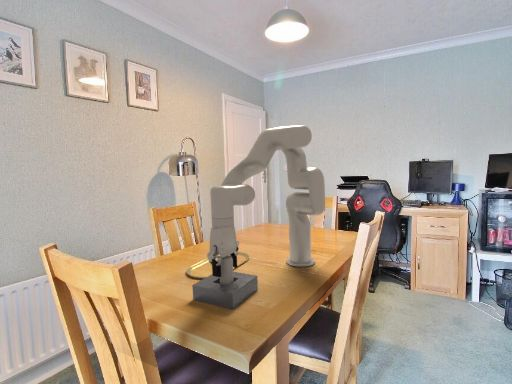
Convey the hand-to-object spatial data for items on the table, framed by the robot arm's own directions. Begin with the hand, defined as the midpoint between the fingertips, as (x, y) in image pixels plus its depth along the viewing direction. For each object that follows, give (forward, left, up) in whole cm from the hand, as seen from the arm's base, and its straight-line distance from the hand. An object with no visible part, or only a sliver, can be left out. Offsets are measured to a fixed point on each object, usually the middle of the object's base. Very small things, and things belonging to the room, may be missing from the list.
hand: (225, 271), depth 99 cm
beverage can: (0, 0, -7) cm, 7 cm away
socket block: (0, 0, -8) cm, 8 cm away
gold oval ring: (-24, -20, -9) cm, 32 cm away
